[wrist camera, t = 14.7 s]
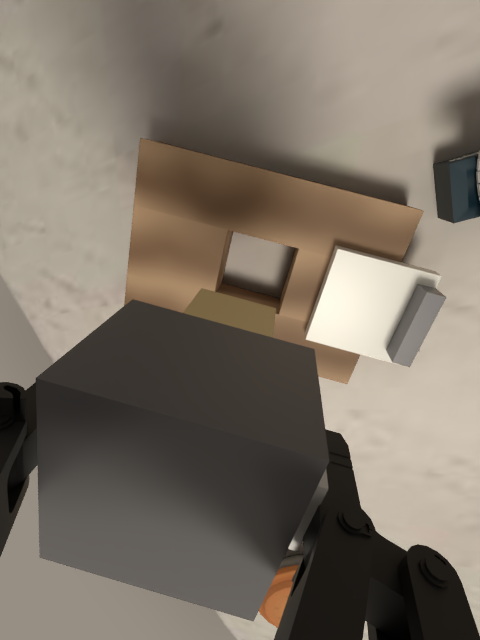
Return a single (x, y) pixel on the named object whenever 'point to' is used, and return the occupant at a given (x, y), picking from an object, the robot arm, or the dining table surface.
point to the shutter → (375, 306)
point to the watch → (458, 188)
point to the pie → (279, 590)
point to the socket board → (254, 220)
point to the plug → (180, 450)
